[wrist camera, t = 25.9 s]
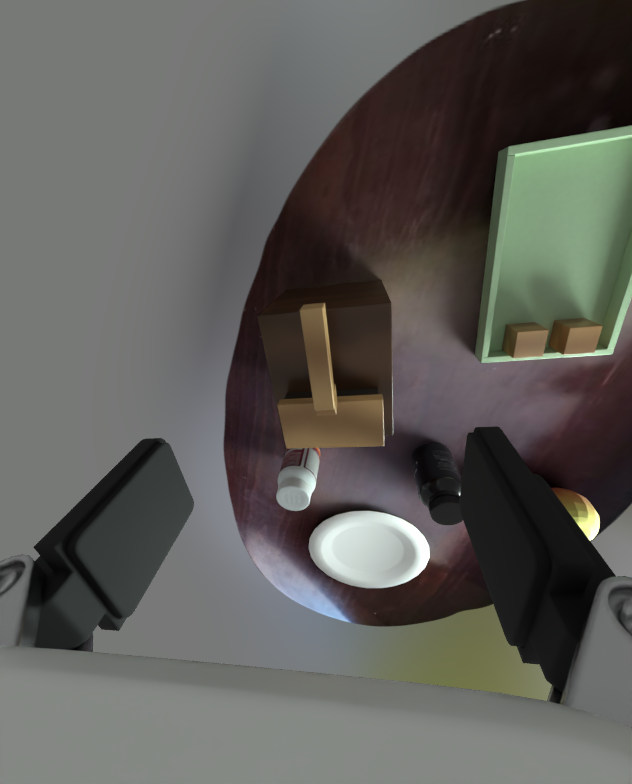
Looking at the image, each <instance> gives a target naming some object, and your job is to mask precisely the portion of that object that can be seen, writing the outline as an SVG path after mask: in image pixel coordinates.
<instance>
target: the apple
mask: <svg viewBox="0 0 632 784" xmlns="http://www.w3.org/2000/svg"><path fill="white" fill-rule="evenodd" d="M551 489H552V490H553V492H554V493H555V494H556V496H557V497H558V498H559V500H560V501H561V502H562V504H563V505H564V507H565V508H566V509H567V511H568V512H569V513H570V515H571V516H572V517H573V519H574V520H575V521H576V523H577V524H578V526H579V527H580V528H581V530H582V531H583V532H584V534H585V535H586V536H587V538H588V539H589V540H592V539H593V538H594V537H595V536H596V534H597V533H598V530H599V524H600V521H599V515H598V514H597V512H596V510H595V509H594V508H593V506H592V505H591V503H590V502H589V501H588V500H587V499H586V498H585V497H583V496H581V495H579V494H577V493H575V492H573V491H571V490H568V489H563V488H557V487H556V488H551Z"/></svg>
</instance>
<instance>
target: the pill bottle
mask: <svg viewBox="0 0 632 784" xmlns="http://www.w3.org/2000/svg"><path fill="white" fill-rule="evenodd" d="M319 461H320V450H319V448H290V449H287V450H286V453H285V456H284V460H283V463H282V466H281V469H280V472H279V476H278V486H279V487H278V491H277V494H276V498H277V501H278V503H279V504H280V505H281V506H282V507H284V508H285V509H288V510H292V511H299V510H303V509H305V508H306V507H307V506H308V505H309V503H310V498H311V494H312V492H313V491H314V489H315V486H316V480H317V473H318V467H319Z"/></svg>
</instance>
